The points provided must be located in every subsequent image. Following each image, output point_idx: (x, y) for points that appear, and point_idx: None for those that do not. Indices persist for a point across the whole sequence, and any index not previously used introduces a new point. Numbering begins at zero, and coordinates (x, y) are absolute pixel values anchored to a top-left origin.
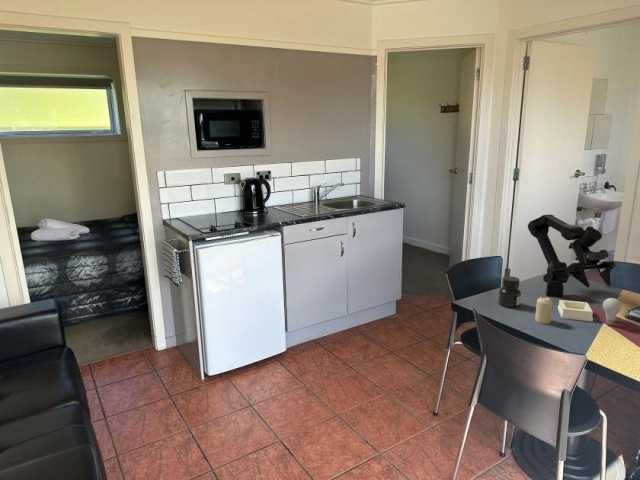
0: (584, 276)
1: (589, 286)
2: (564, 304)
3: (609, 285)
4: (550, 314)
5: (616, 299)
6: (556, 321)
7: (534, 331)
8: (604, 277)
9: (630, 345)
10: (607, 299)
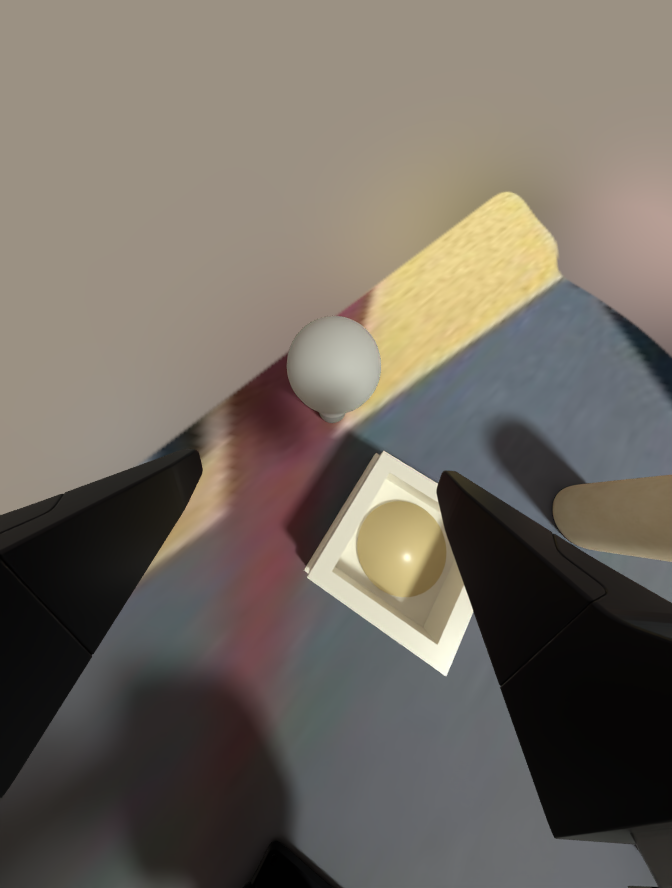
0: (573, 562)
1: (446, 471)
2: (464, 586)
3: (198, 457)
4: (607, 483)
5: (320, 327)
6: (522, 497)
7: (655, 437)
8: (106, 574)
9: (393, 283)
10: (363, 359)
